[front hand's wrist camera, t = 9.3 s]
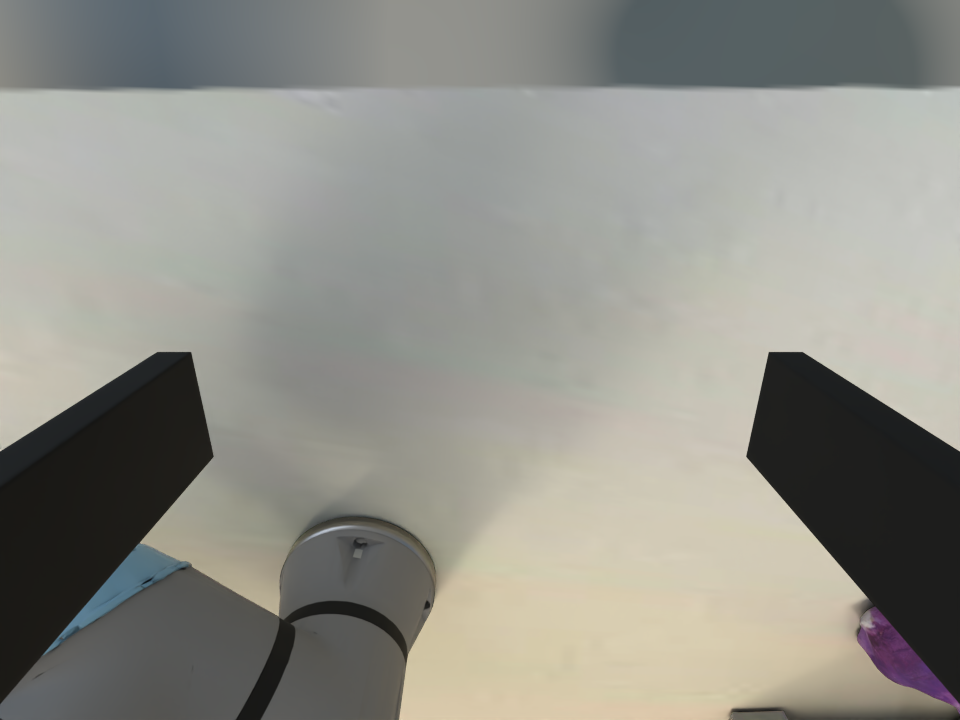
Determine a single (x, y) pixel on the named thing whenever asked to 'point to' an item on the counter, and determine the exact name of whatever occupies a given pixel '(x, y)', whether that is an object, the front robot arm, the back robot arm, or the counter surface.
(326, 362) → the counter surface
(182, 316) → the counter surface
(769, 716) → the grey box with legs
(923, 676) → the figurine
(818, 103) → the counter surface
